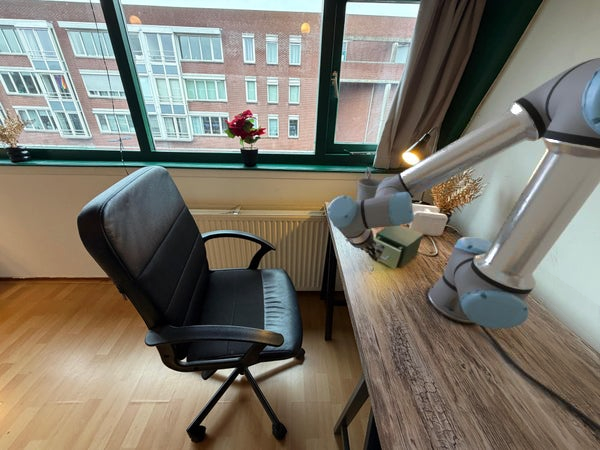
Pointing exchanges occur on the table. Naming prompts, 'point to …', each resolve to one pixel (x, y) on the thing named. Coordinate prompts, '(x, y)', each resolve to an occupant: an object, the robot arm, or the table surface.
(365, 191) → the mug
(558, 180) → the robot arm
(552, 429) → the table surface
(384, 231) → the cabinet
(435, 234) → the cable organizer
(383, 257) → the drawer
